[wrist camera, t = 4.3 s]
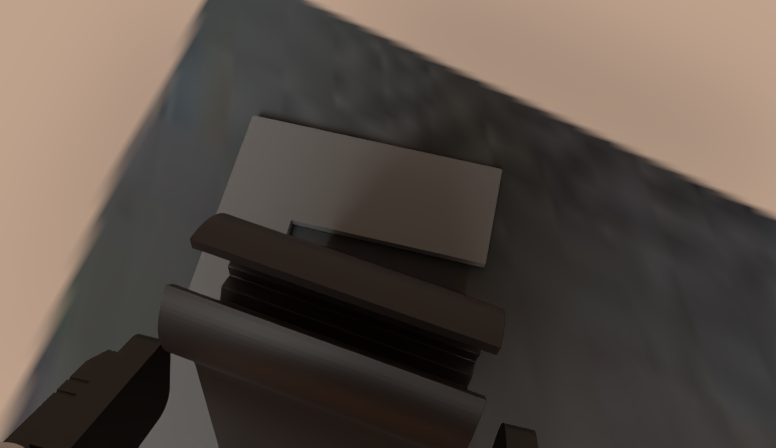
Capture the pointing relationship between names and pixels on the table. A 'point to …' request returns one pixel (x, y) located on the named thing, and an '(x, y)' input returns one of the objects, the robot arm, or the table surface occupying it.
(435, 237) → the bracket
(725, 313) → the table surface
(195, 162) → the table surface
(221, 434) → the phone stand
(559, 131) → the table surface
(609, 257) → the table surface
